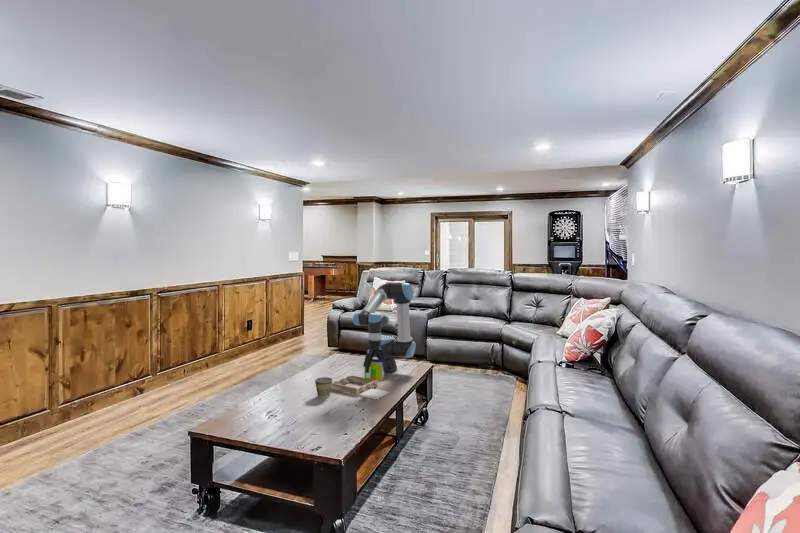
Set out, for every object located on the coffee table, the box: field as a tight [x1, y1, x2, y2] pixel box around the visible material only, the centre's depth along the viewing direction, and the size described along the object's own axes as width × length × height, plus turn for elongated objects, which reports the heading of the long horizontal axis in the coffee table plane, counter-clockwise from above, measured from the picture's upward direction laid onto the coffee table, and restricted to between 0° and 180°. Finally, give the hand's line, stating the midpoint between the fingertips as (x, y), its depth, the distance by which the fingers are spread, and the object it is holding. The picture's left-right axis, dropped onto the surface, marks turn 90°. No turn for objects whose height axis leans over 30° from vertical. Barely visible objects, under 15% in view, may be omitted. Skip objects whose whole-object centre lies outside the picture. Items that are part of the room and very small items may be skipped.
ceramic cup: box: [314, 376, 333, 399], centre depth 256 cm, size 13×10×10 cm
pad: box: [358, 388, 390, 400], centre depth 258 cm, size 13×13×1 cm
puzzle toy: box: [364, 358, 385, 382], centre depth 258 cm, size 10×10×10 cm
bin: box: [331, 374, 378, 396], centre depth 271 cm, size 21×21×4 cm
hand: (374, 375), depth 258 cm, fingers closed on puzzle toy, 12 cm apart
